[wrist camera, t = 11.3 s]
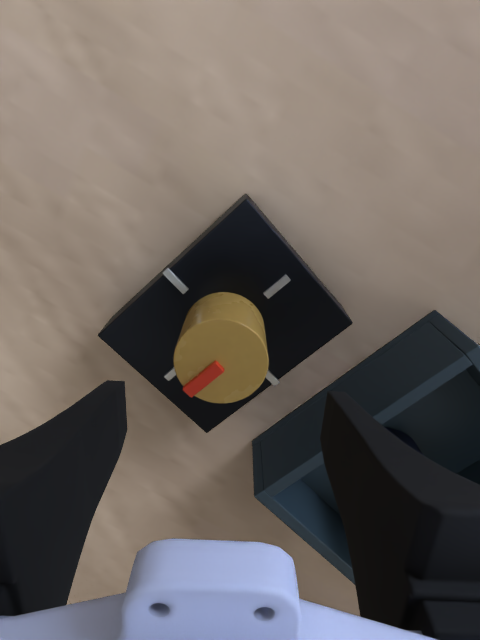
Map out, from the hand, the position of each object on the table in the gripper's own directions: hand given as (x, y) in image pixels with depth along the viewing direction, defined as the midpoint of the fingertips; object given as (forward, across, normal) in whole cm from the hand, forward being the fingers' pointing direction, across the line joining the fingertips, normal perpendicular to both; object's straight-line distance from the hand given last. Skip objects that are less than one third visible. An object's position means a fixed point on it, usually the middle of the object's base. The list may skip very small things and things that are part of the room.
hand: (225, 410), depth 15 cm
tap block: (+9, 0, 0) cm, 9 cm away
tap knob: (+6, 0, 0) cm, 6 cm away
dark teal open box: (+9, -10, +8) cm, 16 cm away
